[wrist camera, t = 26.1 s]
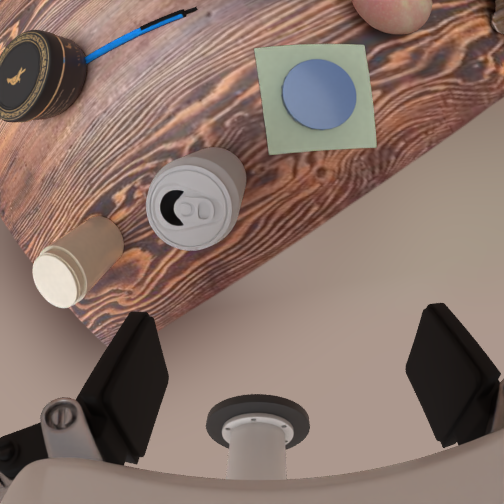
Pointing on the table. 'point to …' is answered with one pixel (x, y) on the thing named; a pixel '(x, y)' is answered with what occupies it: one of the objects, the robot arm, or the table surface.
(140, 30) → the pen
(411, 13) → the apple
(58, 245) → the jam jar
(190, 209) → the beverage can
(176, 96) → the table surface
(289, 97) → the jar lid
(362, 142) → the coaster
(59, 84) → the jar
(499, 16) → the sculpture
